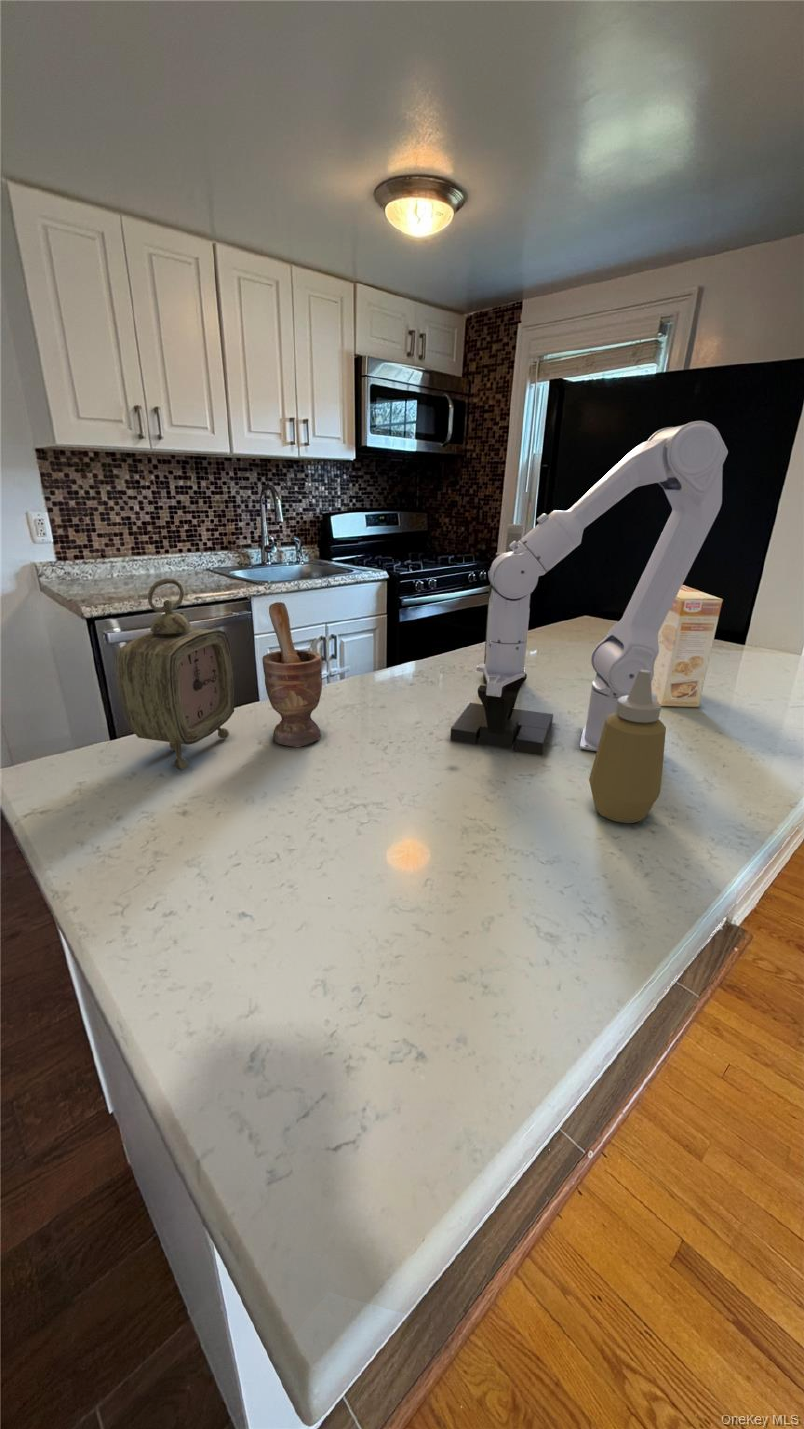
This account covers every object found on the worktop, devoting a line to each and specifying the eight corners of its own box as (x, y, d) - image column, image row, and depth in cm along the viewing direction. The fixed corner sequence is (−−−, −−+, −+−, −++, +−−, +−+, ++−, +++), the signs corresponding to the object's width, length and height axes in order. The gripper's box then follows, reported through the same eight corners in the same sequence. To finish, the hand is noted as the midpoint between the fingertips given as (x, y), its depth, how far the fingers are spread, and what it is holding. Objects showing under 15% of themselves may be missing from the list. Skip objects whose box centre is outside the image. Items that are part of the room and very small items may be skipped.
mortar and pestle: (247, 731, 90) (234, 606, 83) (292, 716, 96) (283, 598, 88) (291, 754, 83) (281, 619, 75) (336, 736, 89) (331, 609, 81)
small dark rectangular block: (516, 737, 89) (518, 720, 88) (511, 749, 85) (513, 731, 84) (485, 733, 91) (486, 715, 89) (479, 744, 87) (480, 726, 86)
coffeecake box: (700, 707, 102) (725, 598, 94) (660, 707, 102) (682, 598, 94) (665, 680, 115) (684, 583, 108) (630, 679, 116) (647, 583, 108)
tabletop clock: (184, 778, 76) (154, 590, 66) (127, 769, 78) (90, 585, 69) (240, 735, 89) (222, 572, 79) (190, 728, 91) (167, 569, 81)
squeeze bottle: (652, 800, 72) (681, 664, 65) (657, 835, 65) (689, 687, 58) (586, 789, 74) (606, 657, 67) (583, 822, 67) (605, 678, 60)
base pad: (551, 725, 94) (553, 714, 93) (541, 755, 83) (543, 743, 82) (469, 713, 98) (470, 702, 97) (450, 740, 88) (450, 728, 87)
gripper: (490, 625, 89) (484, 705, 94) (467, 648, 77) (462, 739, 82) (535, 629, 87) (527, 711, 92) (519, 654, 74) (510, 747, 80)
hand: (499, 725), depth 87 cm, fingers open, 5 cm apart
